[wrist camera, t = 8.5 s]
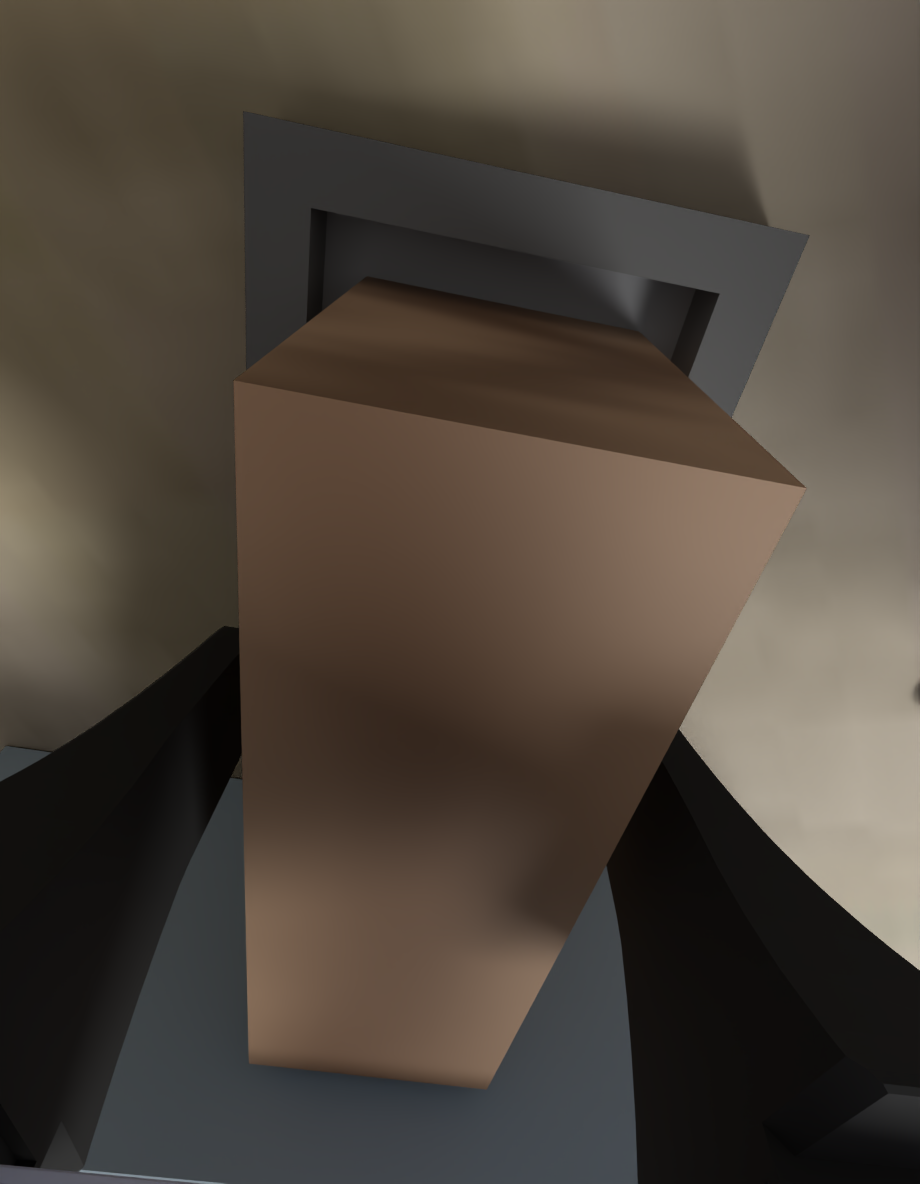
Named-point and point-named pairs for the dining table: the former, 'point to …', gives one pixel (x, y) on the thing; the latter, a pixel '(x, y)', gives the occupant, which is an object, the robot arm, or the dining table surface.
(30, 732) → the dining table surface
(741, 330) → the wall board
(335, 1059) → the brown wooden block
